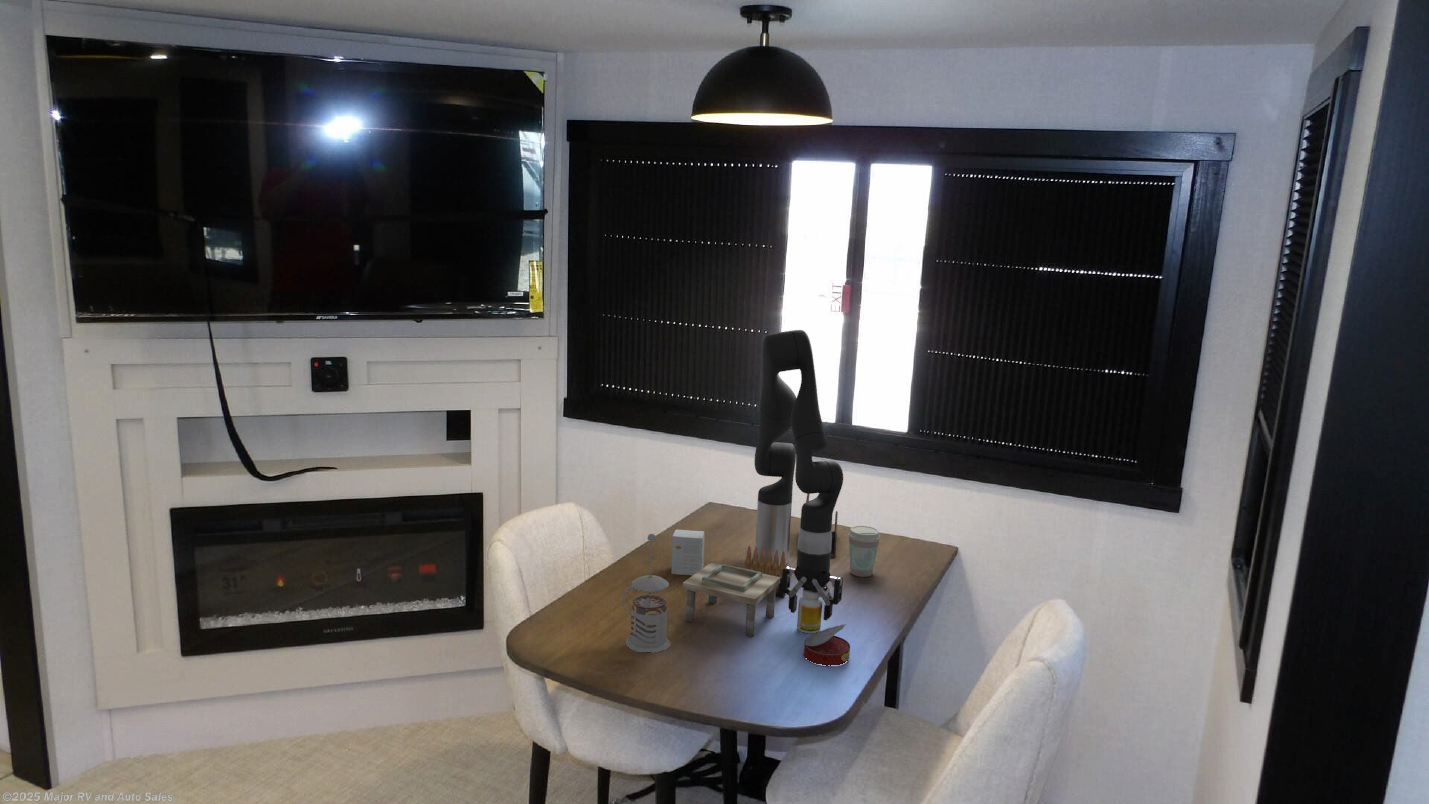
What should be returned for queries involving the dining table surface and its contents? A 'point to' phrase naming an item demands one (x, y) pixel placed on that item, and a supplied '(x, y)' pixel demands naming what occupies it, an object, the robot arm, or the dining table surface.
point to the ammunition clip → (767, 566)
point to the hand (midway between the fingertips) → (809, 615)
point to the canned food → (827, 647)
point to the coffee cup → (863, 549)
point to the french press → (651, 635)
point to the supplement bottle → (809, 612)
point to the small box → (687, 552)
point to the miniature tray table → (732, 590)
